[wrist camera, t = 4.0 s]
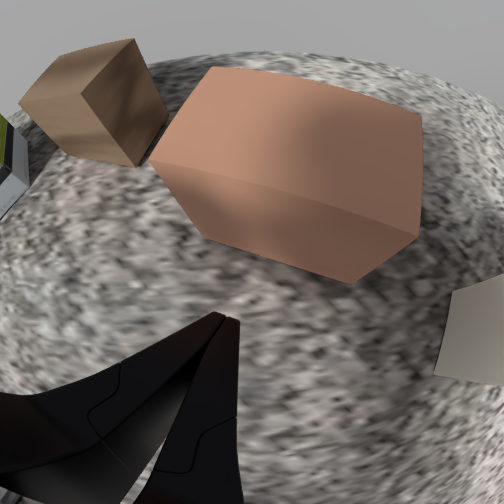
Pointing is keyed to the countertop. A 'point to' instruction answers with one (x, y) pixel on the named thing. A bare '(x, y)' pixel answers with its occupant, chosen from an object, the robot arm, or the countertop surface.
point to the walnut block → (98, 103)
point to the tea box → (12, 165)
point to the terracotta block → (296, 170)
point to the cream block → (475, 334)
